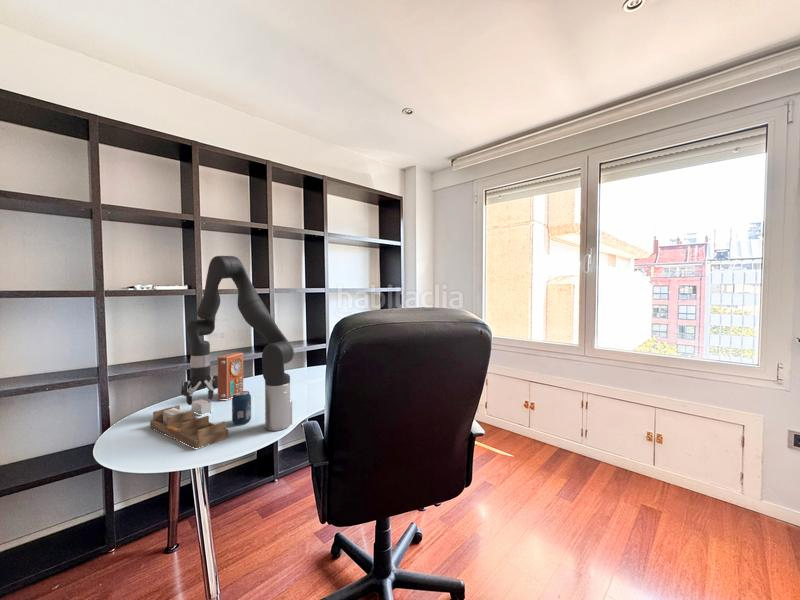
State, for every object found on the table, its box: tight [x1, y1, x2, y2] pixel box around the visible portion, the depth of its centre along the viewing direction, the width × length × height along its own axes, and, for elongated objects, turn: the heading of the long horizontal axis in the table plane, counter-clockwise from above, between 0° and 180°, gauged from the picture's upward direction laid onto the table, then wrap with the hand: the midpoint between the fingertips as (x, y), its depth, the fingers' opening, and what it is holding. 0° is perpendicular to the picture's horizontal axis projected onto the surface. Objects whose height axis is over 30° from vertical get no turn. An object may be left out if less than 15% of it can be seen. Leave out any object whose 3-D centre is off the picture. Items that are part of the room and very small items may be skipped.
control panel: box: [217, 352, 244, 400], centre depth 164 cm, size 21×7×15 cm
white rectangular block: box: [191, 398, 212, 415], centre depth 141 cm, size 4×8×5 cm, turn 59°
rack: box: [149, 405, 229, 448], centre depth 121 cm, size 11×34×6 cm, turn 59°
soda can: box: [231, 390, 252, 426], centre depth 131 cm, size 7×7×12 cm
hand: (200, 401), depth 141 cm, fingers open, 8 cm apart
